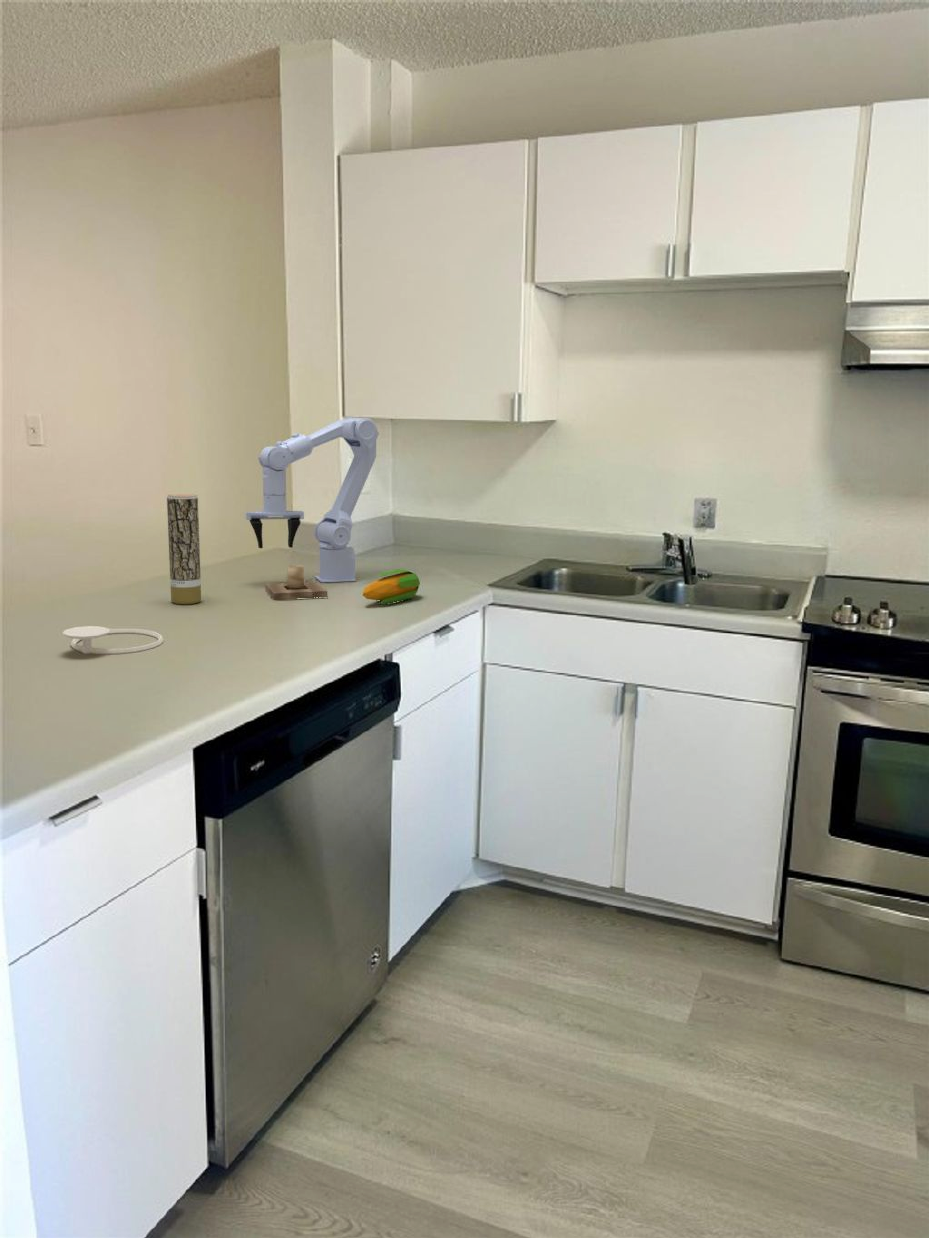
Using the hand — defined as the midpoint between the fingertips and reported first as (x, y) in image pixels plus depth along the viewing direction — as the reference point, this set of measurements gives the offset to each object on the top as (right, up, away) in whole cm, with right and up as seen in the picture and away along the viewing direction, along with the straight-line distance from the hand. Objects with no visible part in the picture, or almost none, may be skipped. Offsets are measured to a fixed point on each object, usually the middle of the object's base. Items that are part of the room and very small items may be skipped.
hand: (275, 547), depth 236 cm
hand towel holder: (-19, -24, -60) cm, 67 cm away
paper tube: (-17, -15, -21) cm, 31 cm away
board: (+7, -12, -9) cm, 17 cm away
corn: (+31, -15, -13) cm, 36 cm away
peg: (+7, -12, -8) cm, 16 cm away
